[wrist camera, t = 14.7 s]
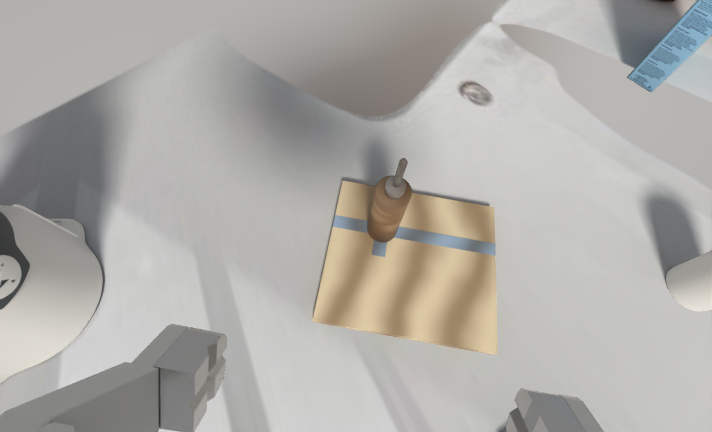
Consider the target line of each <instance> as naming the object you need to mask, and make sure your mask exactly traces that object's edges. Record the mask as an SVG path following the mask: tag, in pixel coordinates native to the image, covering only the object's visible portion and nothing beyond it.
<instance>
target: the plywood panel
mask: <svg viewBox="0 0 712 432" xmlns="http://www.w3.org/2000/svg"><path fill="white" fill-rule="evenodd" d="M376 187H377V186H371V185H365V184H360V183H354V182H348V181H342V186H341V190H340V195H339V199H338V204H337V209H336V213H335V218H334V223H333V227H332V232H331V237H330V241H329V246H328V251H327V255H326V260H325V264H324V269H323V274H322V278H321V283H320V288H319V292H318V297H317V302H316V306H315V311H314V316H313V322H317V323H323V324H328V325H334V326H339V327H345V328H350V329H356V330H361V331H367V332H372V333H378V334H383V335H389V336H394V337H400V338H405V339H411V340H416V341H422V342H427V343H433V344H438V345H444V346H449V347H455V348H460V349H466V350H471V351H477V352H482V353H488V354H496V353H498V350H497V308H496V265H495V223H494V207H489V206H484V205H478V204H472V203H467V202H461V201H455V200H450V199H444V198H439V197H433V196H427V195H422V194H416V193H412V196H411V199H410V201H409V204H408V206H407V208H406V211H405V213H404V216H403V218H402V220H401V223H400V225H399V227H398V230H397V232H396V235H395V237H394V238H393V239H392V240H390V241H388V242H384V243H382V242H377V241H375V240H373V239H372V238H371V237H370V236H369V234H368V231H367V226H368V221H369V217H370V213H371V208H372V204H373V200H374V196H375V191H376Z"/></svg>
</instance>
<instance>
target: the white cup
mask: <svg viewBox="0 0 712 432" xmlns="http://www.w3.org/2000/svg"><path fill="white" fill-rule="evenodd" d="M666 283H667V288H668V290H669V291H670V293H671V294H672V296H673V297H674V298H675V299H676V300H677V301H678V302H679V303H680V304H681V305H682V306H684V307H686V308H688V309H690V310H693V311H698V312H702V311H708V310H712V250H711V251H709V252H707V253H705V254H702V255H700V256H698V257H695V258H693V259H691V260H689V261H686V262H684V263H682V264H679V265H677V266H675V267H672V268H671V269H670V270H669V271H668V272H667V275H666Z"/></svg>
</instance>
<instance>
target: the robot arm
mask: <svg viewBox="0 0 712 432" xmlns="http://www.w3.org/2000/svg"><path fill="white" fill-rule="evenodd" d="M102 284H103V277H102V270H101V267H100V264H99V261H98V259H97V258H96V256H95V255H94V253H93V252H92V251H91V250H90V249H89V247H88V246H87V244H86V242H85V234H84V228H83V226H82V224H81V223H80V222H78V221H76V220H74V219H49V218H45V217H43V216H41V215H39V214H37V213H35V212H33V211H31V210H30V209H28V208H26V207H24V206H21V205H18V204H13V205H11V206H9V205H0V383H2V382H3V381H4V380H5V379H7V378H8V377H9V376H11V375H13V374H15V373H17V372H19V371H22V370H25V369H27V368H30V367H32V366H35V365H37V364H39V363H41V362H43V361H45V360H47V359H49V358H50V357H52V356H54V355H55V354H57V353H58V352H59V351H61V350H62V349H63V348H65V347H66V346H67V345H68V344H69V343H70V342H71V341H73V340H74V339H75V338H76V337H77V336H78V334H79V333H80V332H81V331H82V330H83V328H84V327H85V326H86V325H87V323H88V322H89V320H90V319H91V317H92V315H93V313H94V311H95V309H96V307H97V305H98V302H99V299H100V296H101V292H102ZM226 347H227V337H226V335H225V334H221V333H216V332H211V331H207V330H202V329H197V328H192V327H190V328H189V327H186V326H181V325H176V324H171V325H168V326H167V327H166V328H165V329H164V330H163V331H162V332H161V333H160V334H159V335H158V336H157V337H156V338H155V339H154V340H153V341H152V342H151V343H150V344H149V345H148V346H147V347H146V348H145V349H144V350H143V351H142V353H141V354H140V355H139V356H138V357H137V358H136V359H135V360H134V361H133V362H132V363H127V362H125V363H122V364H120V365H117V366H115V367H112V368H110V369H107V370H105V371H103V372H100V373H98V374H95V375H93V376H90V377H88V378H85V379H83V380H81V381H78V382H76V383H73V384H71V385H68V386H66V387H63V388H61V389H59V390H56V391H54V392H51V393H49V394H46V395H44V396H41V397H39V398H37V399H34V400H32V401H29V402H27V403H24V404H22V405H19V406H17V407H15V408H12V409H10V410H7V411H5V412H4V413H3V414H2V415H0V432H157V431H159V428H160V429H167V430H173V431H180V432H195V430H196V428H197V426H198V425H199V423H200V421H201V419H202V418H203V416H204V414H205V412H206V407H207V401H209V400H210V399H212V398H214V397H215V395H216V393H217V391H218V389H219V387H220V384H221V382H222V379H223V376H224V371H225V363H226V360H225V359H224V357H223V356H222V354H223V352H224V350H225V349H226ZM515 402H516V404H517V408H516V409H514V410H513V411H511V412H510V413H509V416H508V419H507V422H506V432H604V431H603V430H602V428H601V427H600V425H599V424H598V422H597V421H596V420H595V418H594V417H593V415H592V414H591V412H590V411H589V410H588V408H587V407H586V405H585V404H584V402H583V401H581V400H580V399H579V398H577V397H570V396H564V395H555V394H549V393H544V392H538V391H532V390H527V389H520V390H519V391H518V393H517V395H516V397H515Z"/></svg>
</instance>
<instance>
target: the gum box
mask: <svg viewBox="0 0 712 432" xmlns="http://www.w3.org/2000/svg"><path fill="white" fill-rule="evenodd" d="M711 35H712V0H697V1H696V2H695V3H694V4H693V6H692V7H691V8H690V9H689V10H688V11H687V12H686V13H685V14H684V15H683V16H682V18H681V19H680V20H679V21H678V22H677V23H676V24H675V25H674V26H673V27H672V28H671V30H670V31H669V32H668V33H667V34H666V35H665V36H664V37H663V38H662V39H661V41H660V42H659V43H658V44H657V45H656V46H655V47H654V48H653V49H652V50H651V52H650V53H649V54H648V55H647V56H646V57H645V58H644V59H643V60H642V61H641V62H640V63H639V65H638V66H637V67H636V68H635V69H634V70H633V71H632V72H631V73H630V74H629V75H628V77H627V78H629V79H630V80H632V81H634V82H635V83H637V84H638V85H640V86H641V87H643V88H645V89H646V90H648V91H650V92H653V91H654V90H655V89H656V88H657V87H658V86H659V85H660V84H661V83H662V82H663V81H664V80H665V79H666V78H667V77H668V76H670V75H671V74H672V73H673V72H674V71H675V70H676V69H677V68H678V67H679V66H680V65H681V64H682V63H683V62H684V61H685V60H686V59H687V58H688V57H689V56H690V55H691V54H692V53H694V52H695V51H696V50H697V49H698V48H699V47H700V46H701V45H702V44H703V43H704V42H705V41H706V40H707V39H708V38H709V37H710V36H711Z"/></svg>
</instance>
